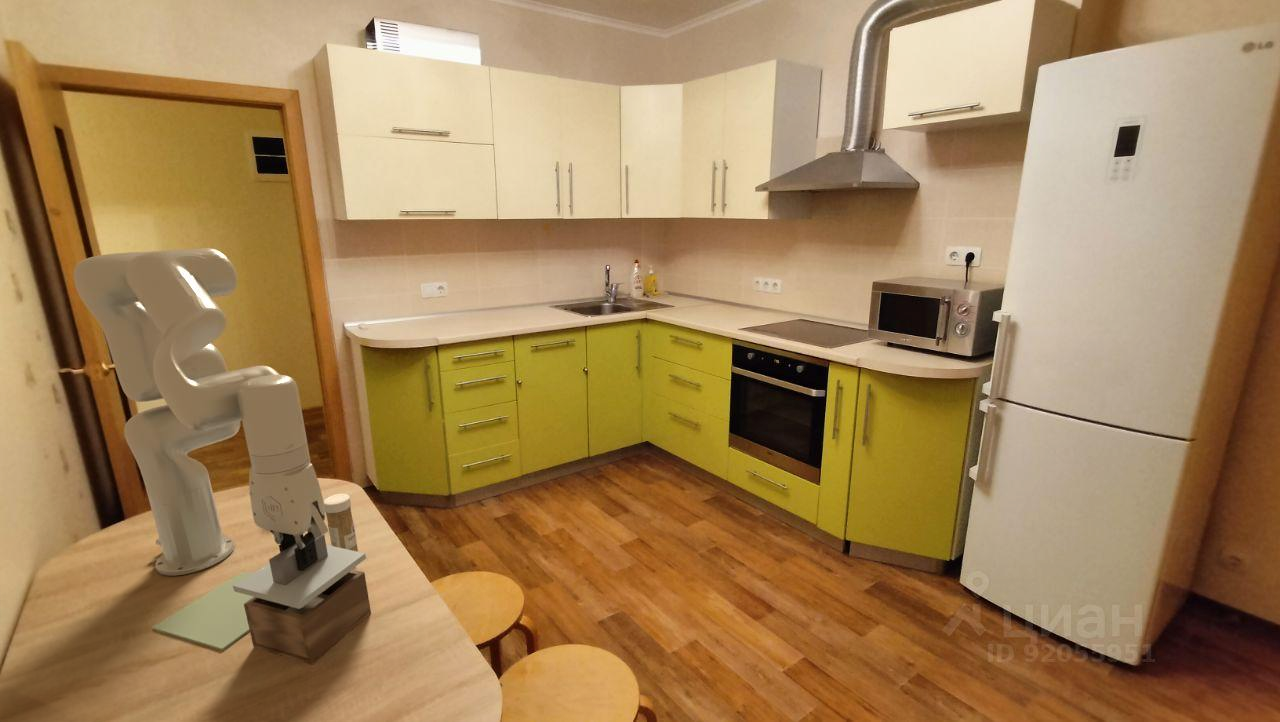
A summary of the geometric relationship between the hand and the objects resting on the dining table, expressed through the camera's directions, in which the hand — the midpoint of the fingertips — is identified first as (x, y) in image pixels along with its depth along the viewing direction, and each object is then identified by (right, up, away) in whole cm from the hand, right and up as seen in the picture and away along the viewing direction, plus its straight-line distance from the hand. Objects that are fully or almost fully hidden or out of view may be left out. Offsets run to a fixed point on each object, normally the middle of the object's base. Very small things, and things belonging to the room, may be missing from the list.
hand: (300, 563), depth 92 cm
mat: (-17, -11, +9) cm, 22 cm away
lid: (0, -3, +1) cm, 4 cm away
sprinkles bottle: (-4, -7, +22) cm, 23 cm away
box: (0, -12, +3) cm, 12 cm away
